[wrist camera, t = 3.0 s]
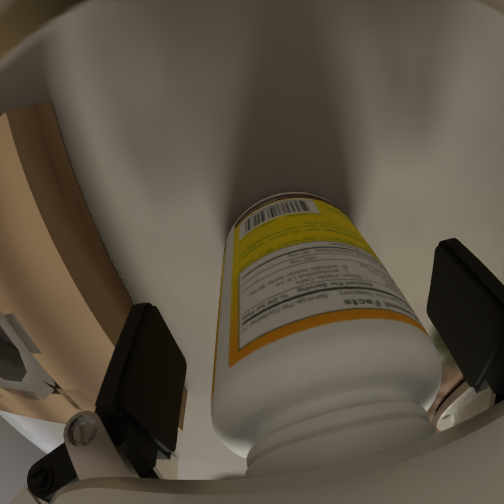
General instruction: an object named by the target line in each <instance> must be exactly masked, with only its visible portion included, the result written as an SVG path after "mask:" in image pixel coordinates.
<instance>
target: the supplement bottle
mask: <svg viewBox="0 0 504 504" xmlns="http://www.w3.org/2000/svg"><path fill="white" fill-rule="evenodd" d="M441 378H442V365H441V361H440V357H439V354H438V352H437V350H436V348H435V346H434V344H433V342H432V340H431V339H430V337H429V335H428V334H427V332H426V330H425V329H424V327H423V325H422V324H421V322H420V321H419V319H418V317H417V316H416V314H415V313H414V311H413V310H412V308H411V306H410V305H409V303H408V302H407V300H406V299H405V297H404V296H403V294H402V293H401V291H400V290H399V288H398V287H397V285H396V283H395V282H394V280H393V279H392V278H391V276H390V275H389V273H388V272H387V270H386V269H385V267H384V266H383V264H382V263H381V262H380V260H379V259H378V257H377V256H376V254H375V253H374V251H373V250H372V249H371V247H370V246H369V245H368V243H367V242H366V241H365V239H364V238H363V237H362V235H361V234H360V232H359V231H358V230H357V228H356V227H355V226H354V224H353V223H352V222H351V220H350V219H349V218H348V216H347V215H346V214H345V213H344V212H343V211H342V210H341V209H340V208H339V207H337V206H336V205H335V204H334V203H332V202H330V201H329V200H327V199H325V198H323V197H320V196H317V195H314V194H310V193H304V192H286V193H279V194H276V195H272V196H269V197H267V198H265V199H262V200H260V201H258V202H257V203H255V204H254V205H252V206H251V207H250V208H248V209H247V210H246V211H245V212H244V213H243V214H242V215H241V216H240V217H239V218H238V219H237V221H236V222H235V224H234V225H233V227H232V228H231V230H230V232H229V235H228V237H227V241H226V244H225V249H224V256H223V267H222V276H221V288H220V299H219V310H218V321H217V333H216V345H215V357H214V370H213V383H212V396H211V417H212V423H213V426H214V429H215V431H216V433H217V435H218V437H219V438H220V440H221V441H222V442H223V443H224V445H226V446H227V447H228V448H229V449H230V450H231V451H233V452H234V453H236V454H238V455H239V456H241V457H243V458H246V459H247V467H248V469H247V471H246V475H245V476H246V478H257V477H267V476H276V475H284V474H291V473H297V472H304V471H309V470H315V469H320V468H325V467H330V466H335V465H339V464H343V463H348V462H352V461H356V460H359V459H363V458H367V457H370V456H374V455H377V454H381V453H384V452H387V451H390V450H393V449H396V448H399V447H402V446H405V445H408V444H411V443H413V442H416V441H419V440H421V439H424V438H427V437H429V436H432V435H434V434H436V429H435V426H434V425H433V424H432V423H431V422H430V420H429V417H428V414H427V410H428V409H429V408H430V406H431V405H432V403H433V402H434V400H435V398H436V395H437V393H438V390H439V388H440V384H441Z"/></svg>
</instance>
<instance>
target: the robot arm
mask: <svg viewBox="0 0 504 504" xmlns="http://www.w3.org/2000/svg"><path fill="white" fill-rule="evenodd" d="M427 314H428V317H429V318H430V320H431V322H432V323H433V325H434V326H435V328H436V330H437V331H438V333H439V334H440V336H441V338H442V339H443V341H444V343H445V344H446V346H447V348H448V349H449V351H450V353H451V355H452V356H453V358H454V360H455V362H456V363H457V365H458V367H459V369H460V370H461V372H462V374H463V376H464V378H465V380H466V381H465V382H464V383H462V384H461V385H460V386H459V387H458V388H457V389H456V390H455V391H454V392H453V393H452V394H451V395H450V396H449V397H448V398H447V399H446V400H445V401H444V402H443V404H442V405H441V406H440V408H439V409H438V411H437V413H436V415H435V418H434V420H435V424H436V426H437V428H438V429H439V430H441V432H439V433H436V434H434V435H432V436H429V437H427V438H424V439H421V440H419V441H416V442H413V443H411V444H408V445H405V446H402V447H399V448H396V449H393V450H390V451H387V452H384V453H381V454H377V455H374V456H370V457H367V458H363V459H359V460H356V461H352V462H348V463H343V464H339V465H335V466H330V467H325V468H320V469H315V470H309V471H304V472H297V473H291V474H284V475H276V476H267V477H257V478H245V479H226V480H170V479H164V477H163V476H162V475H161V473H160V472H159V471H158V469H157V468H156V460H157V459H166V460H170V457H171V452H174V451H175V448H176V442H177V434H178V426H179V418H180V410H181V403H182V396H183V389H184V382H185V375H186V369H187V364H186V360H185V358H184V356H183V354H182V352H181V351H180V349H179V347H178V345H177V343H176V342H175V340H174V338H173V336H172V334H171V333H170V331H169V329H168V327H167V325H166V323H165V321H164V320H163V318H162V316H161V314H160V312H159V310H158V308H157V307H156V306H152V305H151V304H150V303H148V302H147V303H142V304H136V305H133V306H132V307H131V309H130V312H129V314H128V316H127V319H126V321H125V324H124V326H123V329H122V331H121V334H120V336H119V339H118V341H117V344H116V347H115V349H114V352H113V354H112V357H111V360H110V363H109V365H108V368H107V371H106V374H105V376H104V379H103V382H102V385H101V388H100V391H99V394H98V397H97V400H96V403H95V406H96V408H95V412H92V411H87V410H86V411H81V412H79V413H76V414H75V415H74V416H72V417H71V418H70V419H69V421H68V422H67V424H66V426H65V428H64V434H63V436H64V443H63V444H61V445H60V446H59V447H57V448H56V449H54V450H53V451H52V452H50V453H49V454H47V455H46V456H44V457H43V458H42V459H40V460H39V461H37V462H36V463H35V464H34V465H33V466H32V467H31V469H30V470H29V472H28V476H27V484H28V488H27V487H26V486H24V487H23V488H22V489H21V490H20V492H19V493H18V494H17V496H16V497H15V498H14V499H13V501H12V502H11V503H10V504H504V285H503V284H502V283H501V282H500V281H499V280H498V279H497V278H496V277H495V276H494V274H493V273H492V272H491V271H490V270H489V269H488V268H487V267H486V266H485V265H484V264H483V263H482V262H481V261H480V260H479V259H478V258H477V257H476V256H475V255H474V254H473V253H471V252H470V251H469V250H468V249H467V248H466V247H465V246H464V245H463V244H462V243H461V242H460V241H459V240H458V239H456V238H451V239H447V240H443V241H441V242H440V243H439V245H438V246H437V247H436V249H435V255H434V263H433V271H432V278H431V285H430V291H429V297H428V303H427Z"/></svg>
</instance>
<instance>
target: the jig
mask: <svg viewBox="0 0 504 504" xmlns="http://www.w3.org/2000/svg"><path fill="white" fill-rule="evenodd" d="M132 306H133V303H132V301H131V299H130V297H129V296H128V294H127V292H126V290H125V288H124V286H123V284H122V282H121V280H120V278H119V276H118V274H117V272H116V270H115V268H114V266H113V264H112V262H111V260H110V258H109V256H108V254H107V252H106V250H105V247H104V245H103V243H102V241H101V239H100V236H99V234H98V232H97V230H96V227H95V225H94V223H93V220H92V218H91V216H90V213H89V211H88V208H87V206H86V204H85V201H84V199H83V196H82V194H81V191H80V188H79V186H78V183H77V180H76V178H75V175H74V172H73V169H72V167H71V164H70V161H69V158H68V155H67V152H66V149H65V146H64V143H63V140H62V136H61V133H60V130H59V127H58V123H57V120H56V116H55V113H54V109H53V105H52V102H50V103H45V104H39V105H34V106H29V107H25V108H20V109H16V110H12V111H8V112H5V113H4V114H3V115H1V116H0V326H1V327H2V328H3V330H4V331H5V333H6V334H7V335H8V337H9V338H10V339H11V341H12V342H13V343H14V345H15V346H16V347H17V349H16V348H14V347H12V346H10V345H8V344H6V343H4V342H2V341H1V340H0V410H2V411H5V412H9V413H13V414H17V415H22V416H26V417H31V418H35V419H40V420H45V421H51V422H57V423H63V424H67V422H68V421H69V419H70V418H71V417H72V416H74V415H75V414H76V413H79V412H81V411H86V410H87V411H92V412H95V408H96V406H95V403H96V400H97V397H98V394H99V391H100V388H101V385H102V382H103V379H104V376H105V374H106V371H107V368H108V365H109V363H110V360H111V357H112V354H113V352H114V349H115V347H116V344H117V341H118V339H119V336H120V334H121V331H122V329H123V326H124V324H125V321H126V319H127V316H128V314H129V312H130V309H131V307H132ZM186 399H187V391H186V390H185V388H184V389H183V396H182V403H181V410H180V418H179V426H178V431H183V422H184V415H185V407H186Z"/></svg>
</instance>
